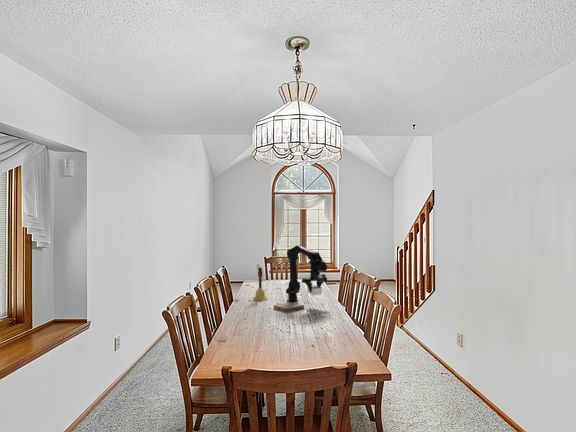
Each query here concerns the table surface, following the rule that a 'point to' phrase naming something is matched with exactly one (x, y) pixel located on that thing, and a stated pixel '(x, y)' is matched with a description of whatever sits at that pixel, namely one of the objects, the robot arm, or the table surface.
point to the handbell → (260, 288)
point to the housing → (315, 290)
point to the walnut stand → (288, 307)
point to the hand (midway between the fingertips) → (314, 291)
